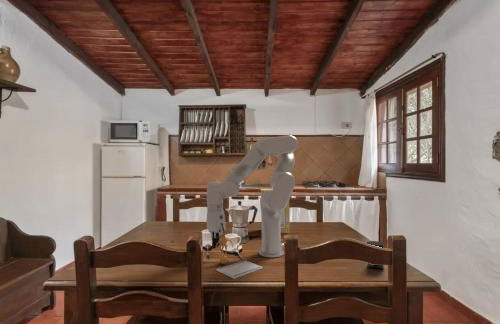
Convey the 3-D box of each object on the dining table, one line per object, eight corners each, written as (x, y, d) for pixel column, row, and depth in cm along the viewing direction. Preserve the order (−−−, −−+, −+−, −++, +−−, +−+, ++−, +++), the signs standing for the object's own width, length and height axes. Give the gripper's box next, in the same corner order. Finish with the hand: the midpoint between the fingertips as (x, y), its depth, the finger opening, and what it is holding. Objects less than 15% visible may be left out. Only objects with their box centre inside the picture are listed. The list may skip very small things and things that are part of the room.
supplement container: (365, 264, 126) (364, 240, 126) (380, 264, 125) (380, 241, 125) (369, 269, 119) (369, 245, 119) (386, 270, 119) (386, 245, 119)
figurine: (213, 265, 128) (213, 238, 128) (217, 260, 134) (217, 235, 134) (231, 265, 126) (231, 239, 127) (234, 261, 132) (234, 235, 132)
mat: (244, 261, 132) (244, 260, 132) (262, 268, 123) (262, 266, 123) (216, 270, 121) (216, 269, 121) (234, 278, 112) (234, 277, 112)
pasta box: (261, 233, 183) (260, 190, 183) (261, 229, 194) (260, 188, 194) (289, 233, 182) (289, 190, 183) (288, 229, 193) (287, 188, 193)
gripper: (230, 208, 132) (231, 247, 132) (212, 205, 143) (213, 241, 143) (217, 210, 127) (218, 251, 127) (200, 206, 138) (200, 244, 138)
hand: (215, 245), depth 135 cm, fingers closed
